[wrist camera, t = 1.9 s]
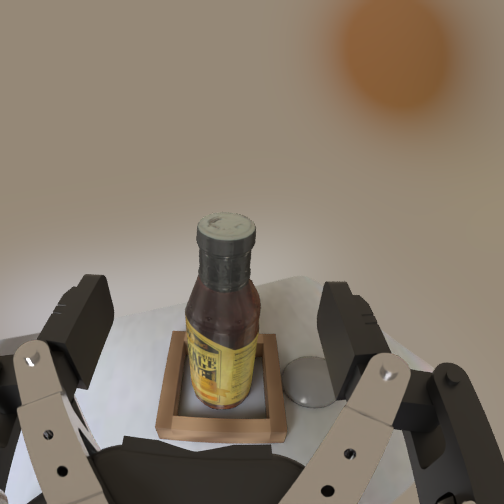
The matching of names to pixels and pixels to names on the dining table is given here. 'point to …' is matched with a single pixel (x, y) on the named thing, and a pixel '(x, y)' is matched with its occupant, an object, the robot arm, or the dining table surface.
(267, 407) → the pocket frame
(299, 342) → the dining table surface
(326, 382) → the coaster
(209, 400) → the sauce bottle
